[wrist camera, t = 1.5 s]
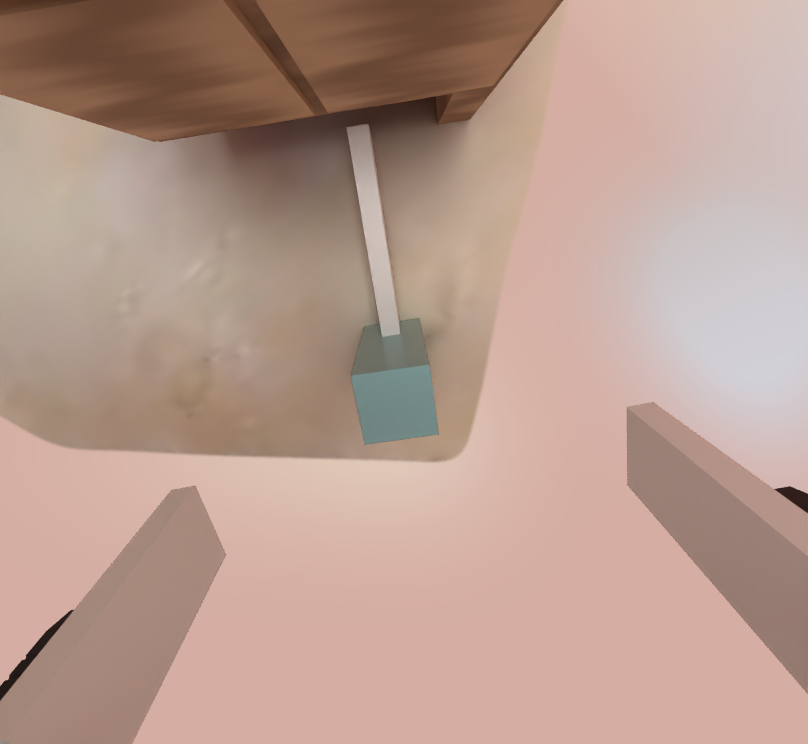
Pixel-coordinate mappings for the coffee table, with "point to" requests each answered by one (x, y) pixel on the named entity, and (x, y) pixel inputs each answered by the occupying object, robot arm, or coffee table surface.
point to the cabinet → (256, 58)
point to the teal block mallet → (387, 329)
